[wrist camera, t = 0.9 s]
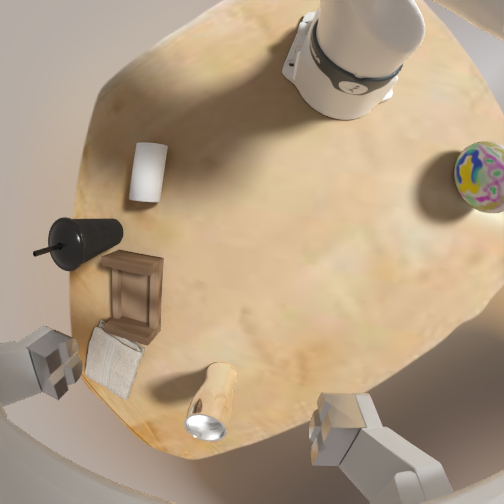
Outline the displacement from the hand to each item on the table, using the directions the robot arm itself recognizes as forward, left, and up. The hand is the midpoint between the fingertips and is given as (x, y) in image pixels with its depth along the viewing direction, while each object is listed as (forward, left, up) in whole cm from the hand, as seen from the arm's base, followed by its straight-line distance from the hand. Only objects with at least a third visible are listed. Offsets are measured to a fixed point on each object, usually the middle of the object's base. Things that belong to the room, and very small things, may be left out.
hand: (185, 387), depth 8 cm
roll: (-7, -19, -35) cm, 40 cm away
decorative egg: (-17, +37, -38) cm, 56 cm away
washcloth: (+32, -26, -38) cm, 56 cm away
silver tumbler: (+28, -3, -38) cm, 47 cm away
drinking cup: (+4, -26, -38) cm, 46 cm away
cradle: (+14, -20, -37) cm, 44 cm away
